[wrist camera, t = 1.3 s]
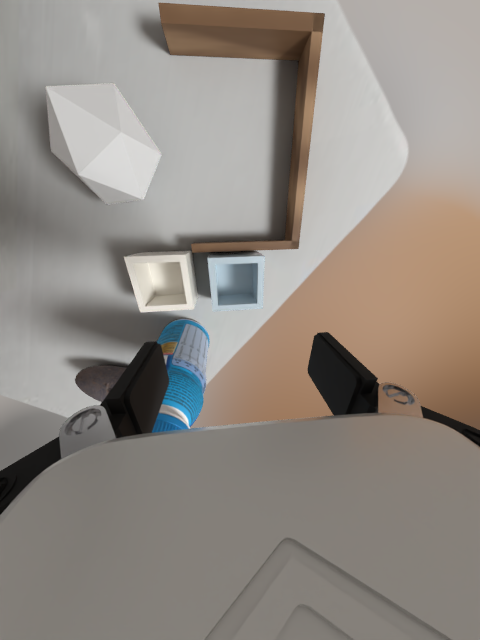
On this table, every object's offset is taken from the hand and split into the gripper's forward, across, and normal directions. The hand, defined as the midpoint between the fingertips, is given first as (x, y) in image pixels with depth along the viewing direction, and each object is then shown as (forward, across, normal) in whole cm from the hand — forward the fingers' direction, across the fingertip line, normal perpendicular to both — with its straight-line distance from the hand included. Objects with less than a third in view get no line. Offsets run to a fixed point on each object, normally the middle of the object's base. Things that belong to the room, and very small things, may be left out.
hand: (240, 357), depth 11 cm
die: (+19, +11, -14) cm, 26 cm away
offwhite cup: (+19, +9, -1) cm, 21 cm away
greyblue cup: (+19, -1, -1) cm, 19 cm away
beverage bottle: (+19, +8, +10) cm, 23 cm away
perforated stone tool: (+19, +19, +17) cm, 32 cm away
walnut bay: (+19, -2, -14) cm, 24 cm away
